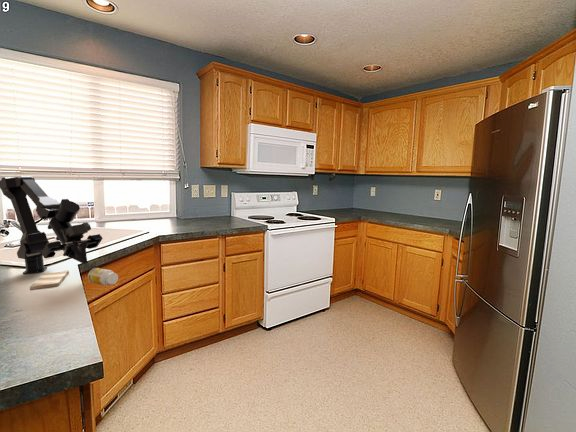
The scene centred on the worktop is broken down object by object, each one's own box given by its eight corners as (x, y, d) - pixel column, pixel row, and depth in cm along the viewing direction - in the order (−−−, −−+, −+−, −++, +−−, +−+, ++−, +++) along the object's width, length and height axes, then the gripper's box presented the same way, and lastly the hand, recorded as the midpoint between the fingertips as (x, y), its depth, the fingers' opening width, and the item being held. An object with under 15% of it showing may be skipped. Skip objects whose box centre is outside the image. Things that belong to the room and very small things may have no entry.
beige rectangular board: (44, 275, 120) (43, 273, 119) (68, 272, 123) (68, 270, 123) (30, 289, 105) (29, 286, 105) (58, 285, 108) (58, 283, 108)
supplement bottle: (91, 265, 110) (110, 268, 106) (103, 270, 114) (122, 273, 111) (84, 280, 108) (103, 284, 104) (97, 284, 112) (116, 288, 109)
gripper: (43, 219, 103) (66, 255, 100) (97, 213, 120) (119, 244, 117) (32, 240, 107) (54, 275, 104) (86, 231, 124) (106, 261, 121)
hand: (85, 263), depth 111 cm, fingers closed
